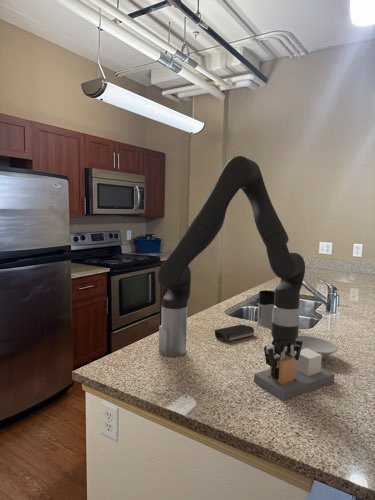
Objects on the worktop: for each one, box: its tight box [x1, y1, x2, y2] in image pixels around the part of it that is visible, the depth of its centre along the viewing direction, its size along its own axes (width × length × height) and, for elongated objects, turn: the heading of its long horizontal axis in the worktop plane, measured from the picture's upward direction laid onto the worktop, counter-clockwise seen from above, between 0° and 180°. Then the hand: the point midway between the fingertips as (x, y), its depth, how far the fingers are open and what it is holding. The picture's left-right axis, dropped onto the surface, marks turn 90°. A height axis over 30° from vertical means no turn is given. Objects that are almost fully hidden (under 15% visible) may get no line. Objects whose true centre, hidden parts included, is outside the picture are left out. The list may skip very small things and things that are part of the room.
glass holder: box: [245, 290, 275, 328], centre depth 156 cm, size 9×14×15 cm, turn 95°
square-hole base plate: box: [253, 348, 336, 401], centre depth 104 cm, size 22×12×8 cm, turn 121°
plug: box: [269, 354, 296, 385], centre depth 101 cm, size 5×5×8 cm
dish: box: [297, 334, 339, 358], centre depth 123 cm, size 18×14×5 cm
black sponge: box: [214, 324, 255, 342], centre depth 141 cm, size 16×8×4 cm, turn 124°
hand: (281, 376), depth 102 cm, fingers closed on plug, 5 cm apart
